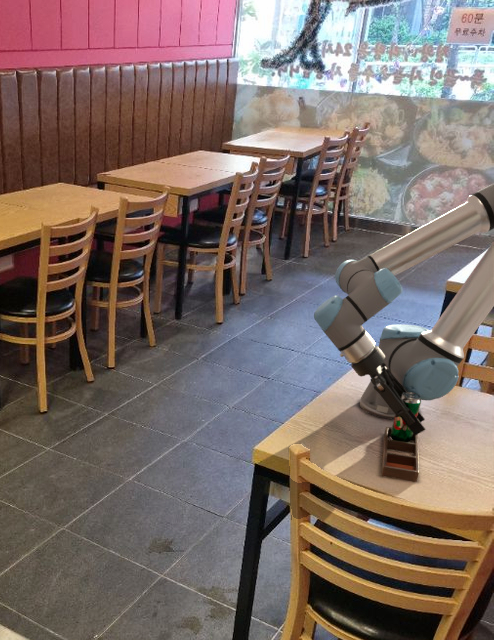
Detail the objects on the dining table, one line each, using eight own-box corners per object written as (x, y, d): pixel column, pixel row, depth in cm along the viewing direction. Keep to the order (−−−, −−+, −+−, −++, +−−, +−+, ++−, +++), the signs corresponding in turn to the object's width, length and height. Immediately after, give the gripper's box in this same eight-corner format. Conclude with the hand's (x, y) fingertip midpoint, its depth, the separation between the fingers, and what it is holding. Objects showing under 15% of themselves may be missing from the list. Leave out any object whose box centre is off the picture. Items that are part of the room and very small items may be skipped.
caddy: (383, 435, 189) (385, 426, 188) (415, 440, 187) (417, 431, 186) (381, 476, 171) (383, 466, 170) (416, 481, 169) (419, 472, 168)
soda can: (408, 435, 186) (419, 391, 180) (413, 445, 182) (424, 400, 176) (387, 434, 187) (398, 390, 180) (391, 443, 182) (402, 399, 176)
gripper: (351, 351, 186) (406, 419, 191) (347, 377, 172) (406, 451, 176) (377, 333, 182) (432, 404, 186) (375, 358, 167) (435, 434, 172)
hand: (419, 426), depth 181 cm, fingers closed on soda can, 5 cm apart
